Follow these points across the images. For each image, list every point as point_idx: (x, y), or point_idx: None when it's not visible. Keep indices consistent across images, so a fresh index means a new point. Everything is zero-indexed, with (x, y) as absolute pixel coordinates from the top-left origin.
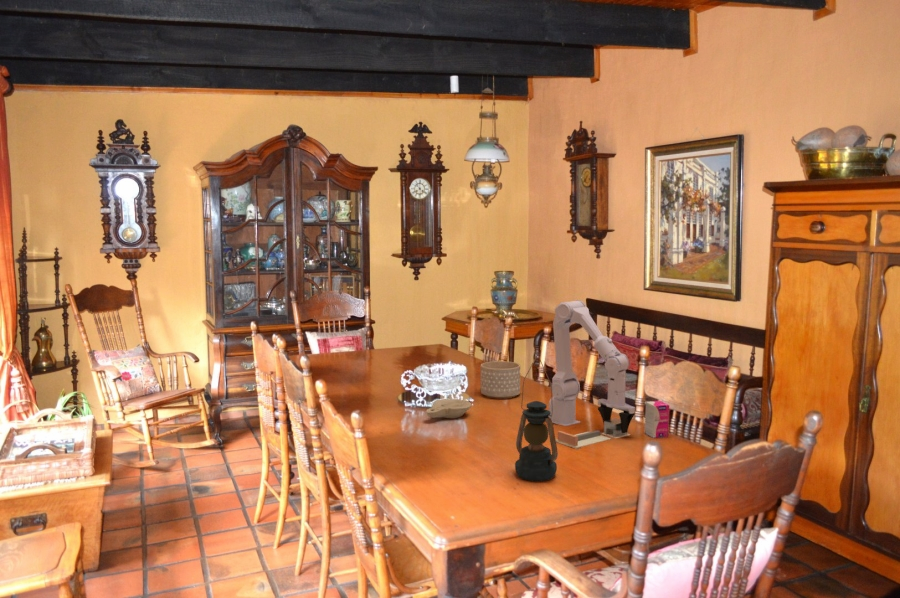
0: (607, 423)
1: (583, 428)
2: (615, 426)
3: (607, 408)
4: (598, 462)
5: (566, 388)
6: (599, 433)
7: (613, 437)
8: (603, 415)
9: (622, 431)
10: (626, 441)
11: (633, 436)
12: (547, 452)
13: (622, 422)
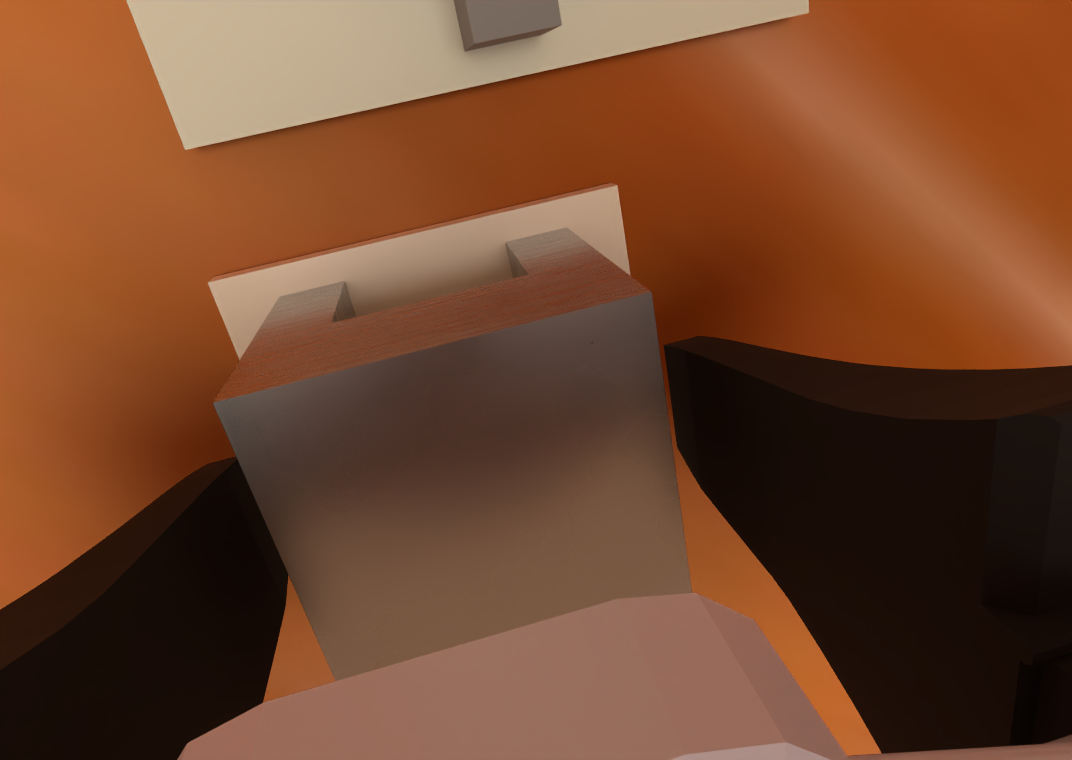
0: (514, 309)
1: (1040, 116)
2: (231, 381)
3: (973, 688)
4: None
5: None
6: (466, 22)
7: (286, 262)
8: (836, 398)
9: (201, 471)
10: (42, 382)
11: (299, 616)
12: None
13: (54, 593)
